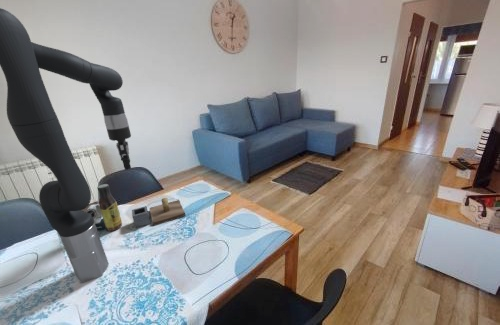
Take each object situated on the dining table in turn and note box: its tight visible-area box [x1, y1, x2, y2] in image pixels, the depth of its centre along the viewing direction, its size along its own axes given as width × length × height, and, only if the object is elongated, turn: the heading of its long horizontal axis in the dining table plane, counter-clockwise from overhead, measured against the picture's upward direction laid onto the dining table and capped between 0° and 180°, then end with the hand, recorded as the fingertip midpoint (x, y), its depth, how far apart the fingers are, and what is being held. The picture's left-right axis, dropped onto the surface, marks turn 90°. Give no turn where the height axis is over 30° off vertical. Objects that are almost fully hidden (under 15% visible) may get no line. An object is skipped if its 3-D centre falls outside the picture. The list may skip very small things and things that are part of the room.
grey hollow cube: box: [131, 205, 151, 229], centre depth 102 cm, size 6×6×6 cm
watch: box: [84, 203, 107, 232], centre depth 99 cm, size 6×8×11 cm
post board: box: [149, 197, 186, 226], centre depth 108 cm, size 14×14×8 cm
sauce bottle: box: [97, 183, 123, 232], centre depth 98 cm, size 7×6×20 cm
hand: (127, 165), depth 94 cm, fingers open, 8 cm apart
